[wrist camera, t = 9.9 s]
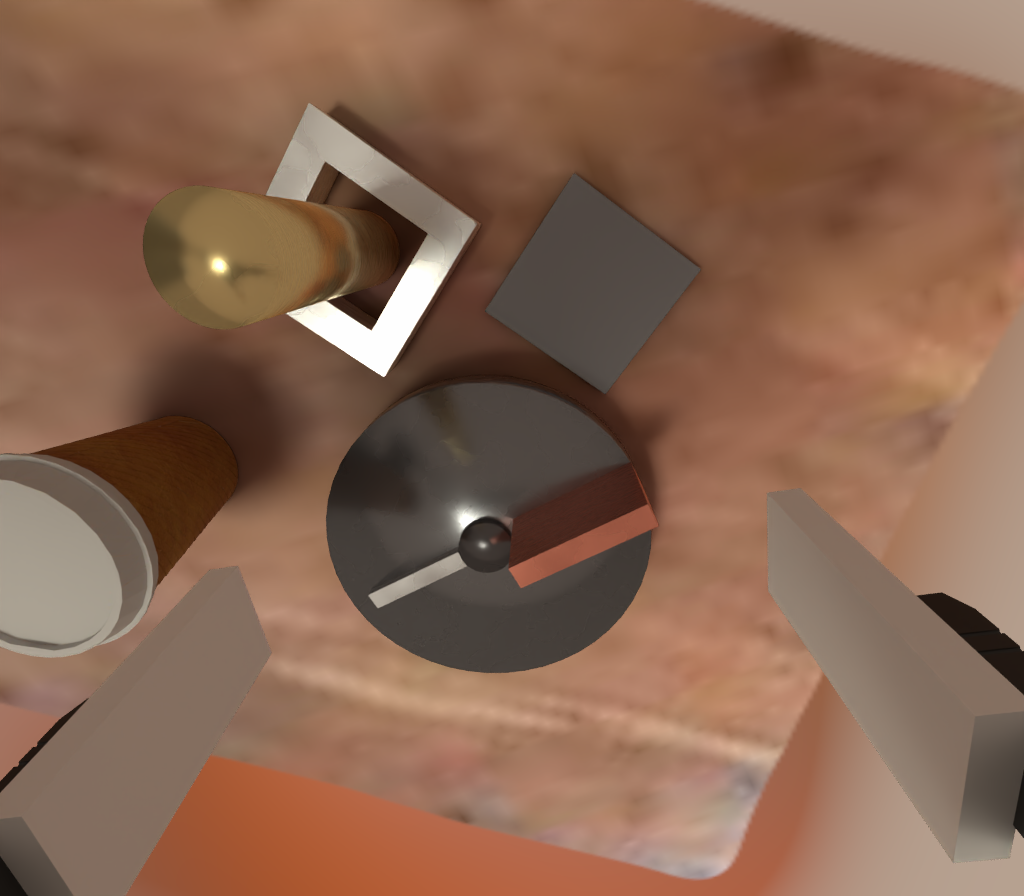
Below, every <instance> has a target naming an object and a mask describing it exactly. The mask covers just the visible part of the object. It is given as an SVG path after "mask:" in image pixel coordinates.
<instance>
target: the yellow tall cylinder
mask: <svg viewBox="0 0 1024 896" xmlns="http://www.w3.org/2000/svg"><path fill="white" fill-rule="evenodd" d="M143 253H144V259H145V264H146V267H147V270H148V273H149V276H150V278H151V280H152V282H153V284H154V286H155V287H156V289H157V291H158V292H159V293H160V295H161V296H162V298H163V299H164V300H165V301H166V302H167V303H168V304H169V305H170V306H171V307H172V308H173V309H174V310H175V311H176V312H178V313H179V314H180V315H182V316H183V317H185V318H186V319H188V320H190V321H192V322H194V323H196V324H199V325H201V326H205V327H208V328H214V329H234V328H238V327H242V326H245V325H248V324H252V323H255V322H258V321H262V320H265V319H268V318H271V317H275V316H278V315H281V314H284V313H288V312H291V311H294V310H298V309H301V308H304V307H307V306H311V305H314V304H317V303H321V302H324V301H327V300H330V299H334V298H337V297H340V296H343V295H347V294H350V293H353V292H357V291H360V290H363V289H366V288H370V287H373V286H376V285H379V284H381V283H383V282H385V281H386V280H387V279H389V278H390V276H391V275H392V274H393V273H394V271H395V269H396V267H397V265H398V262H399V255H400V249H399V242H398V239H397V236H396V234H395V232H394V230H393V228H392V227H391V226H390V224H389V223H388V222H387V221H386V220H385V219H383V218H382V217H381V216H379V215H377V214H375V213H373V212H370V211H365V210H358V209H352V208H345V207H339V206H332V205H326V204H319V203H313V202H306V201H300V200H293V199H287V198H280V197H274V196H267V195H261V194H254V193H248V192H241V191H235V190H228V189H222V188H215V187H209V186H189V187H184V188H180V189H177V190H175V191H173V192H171V193H169V194H168V195H166V196H165V197H164V198H162V199H161V200H160V201H159V202H158V203H157V204H156V206H155V207H154V209H153V210H152V211H151V213H150V215H149V217H148V220H147V223H146V226H145V230H144V235H143Z"/></svg>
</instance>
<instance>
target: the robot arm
mask: <svg viewBox="0 0 1024 896" xmlns="http://www.w3.org/2000/svg"><path fill="white" fill-rule="evenodd" d="M767 530H768V591H769V593H770V594H771V596H772V597H773V599H774V600H775V602H776V603H777V605H778V606H779V608H780V609H781V610H782V612H783V613H784V615H785V616H786V618H787V619H788V621H789V622H790V624H791V625H792V627H793V628H794V630H795V631H796V633H797V634H798V635H799V637H800V638H801V640H802V641H803V643H804V644H805V646H806V647H807V649H808V650H809V652H810V653H811V655H812V656H813V658H814V659H815V660H816V662H817V663H818V665H819V666H820V668H821V669H822V671H823V672H824V674H825V675H826V677H827V678H828V679H829V681H830V683H831V684H832V686H833V687H834V688H835V690H836V691H837V693H838V694H839V696H840V697H841V699H842V700H843V702H844V703H845V705H846V706H847V708H848V709H849V711H850V712H851V713H852V715H853V716H854V718H855V719H856V721H857V722H858V724H859V725H860V727H861V728H862V730H863V731H864V732H865V734H866V735H867V737H868V738H869V740H870V741H871V743H872V744H873V746H874V747H875V749H876V750H877V752H878V753H879V755H880V756H881V757H882V759H883V760H884V762H885V764H886V765H887V766H888V768H889V769H890V771H891V772H892V774H893V775H894V777H895V778H896V779H897V781H898V783H899V784H900V786H901V787H902V788H903V790H904V791H905V793H906V794H907V796H908V797H909V799H910V800H911V802H912V803H913V805H914V806H915V808H916V809H917V811H918V812H919V814H920V815H921V816H922V818H923V819H924V821H925V822H926V824H927V825H928V827H929V828H930V830H931V831H932V833H933V834H934V836H935V837H936V839H937V840H938V841H939V843H940V844H941V846H942V847H943V849H944V850H945V852H946V853H947V855H948V856H949V858H950V859H951V861H952V862H953V863H960V862H971V861H983V860H995V859H1007V858H1010V853H1011V849H1012V844H1013V839H1014V833H1015V829H1017V830H1018V832H1019V833H1020V834H1021V835H1022V837H1023V838H1024V651H1022V650H1021V649H1020V646H1019V645H1018V644H1016V643H1015V642H1014V641H1013V640H1012V639H1011V638H1009V637H1008V636H1007V635H1006V634H1005V633H1002V634H1001V633H1000V631H999V628H997V627H996V626H995V625H994V624H993V623H991V622H990V621H989V620H988V619H987V618H985V617H984V616H983V615H982V614H981V613H979V612H978V611H977V610H976V609H974V608H972V607H970V606H968V605H966V604H964V603H962V602H960V601H958V600H956V599H954V598H952V597H950V596H948V595H946V594H944V593H935V594H926V595H918V596H916V595H915V594H914V593H913V592H912V591H911V590H910V589H909V588H908V587H906V586H905V585H904V584H903V583H902V582H901V581H900V580H899V579H898V578H897V577H896V576H894V575H893V574H892V573H891V572H890V571H889V570H888V569H887V568H886V567H885V566H884V565H883V564H882V563H881V562H880V561H878V560H877V559H876V558H875V557H874V556H873V555H872V554H871V553H870V552H869V551H868V550H867V549H865V548H864V547H863V546H862V545H861V544H860V543H859V542H858V541H857V540H856V539H855V538H854V537H853V536H851V535H850V534H849V533H848V532H847V531H846V530H845V529H844V528H843V527H842V526H841V525H840V524H838V523H837V522H836V521H835V520H834V519H833V518H832V517H831V516H830V515H829V514H828V513H827V512H826V511H824V510H823V509H822V508H821V507H820V506H819V505H818V504H817V503H816V502H815V501H814V500H813V499H812V498H810V497H809V496H808V495H807V494H806V493H805V492H804V491H803V490H802V489H801V488H798V489H791V490H784V491H777V492H769V493H767ZM271 653H272V652H271V650H270V647H269V645H268V642H267V639H266V637H265V634H264V632H263V629H262V627H261V624H260V621H259V619H258V616H257V614H256V611H255V608H254V606H253V603H252V601H251V598H250V596H249V593H248V590H247V588H246V585H245V583H244V580H243V577H242V575H241V572H240V570H239V567H238V566H233V567H226V568H219V569H212V570H209V571H208V572H207V573H206V574H205V575H204V576H203V577H202V578H201V579H200V580H199V581H198V583H197V584H196V585H195V586H194V587H193V588H192V589H191V590H190V591H189V592H188V593H187V594H186V595H185V596H184V597H183V599H182V600H181V601H180V602H179V603H178V604H177V605H176V606H175V607H174V608H173V609H172V610H171V611H170V612H169V613H168V615H167V616H166V617H165V618H164V619H163V620H162V621H161V622H160V623H159V624H158V625H157V626H156V627H155V628H154V629H153V631H152V632H151V633H150V634H149V635H148V636H147V637H146V638H145V639H144V640H143V641H142V642H141V643H140V644H139V645H138V647H137V648H136V649H135V650H134V651H133V652H132V653H131V654H130V655H129V656H128V657H127V658H126V659H125V660H124V661H123V663H122V664H121V665H120V666H119V667H118V668H117V669H116V670H115V671H114V672H113V673H112V674H111V675H110V676H109V677H108V678H107V680H106V681H105V682H104V683H103V684H102V685H101V686H100V687H99V688H98V689H97V690H96V691H95V692H94V693H93V694H92V696H91V697H90V698H88V699H86V700H85V701H84V702H82V703H81V704H80V705H78V706H77V707H76V708H74V709H73V710H72V711H70V712H69V713H67V714H66V715H65V716H63V717H62V718H61V719H59V720H58V722H57V723H56V724H55V725H54V726H53V727H52V728H51V729H50V730H49V731H48V732H47V733H46V734H45V735H44V736H43V737H42V738H41V739H40V740H39V741H38V743H37V744H38V745H37V747H33V748H32V749H31V750H30V751H29V752H28V753H27V754H26V755H25V756H24V757H23V758H22V759H21V760H20V761H19V765H18V767H13V768H12V770H11V771H10V772H9V773H8V774H7V775H6V776H5V777H4V778H3V779H2V780H1V781H0V896H125V895H126V894H127V892H128V890H129V889H130V887H131V885H132V884H133V882H134V880H135V879H136V877H137V875H138V874H139V872H140V870H141V869H142V867H143V865H144V864H145V862H146V861H147V859H148V857H149V855H150V854H151V852H152V851H153V849H154V847H155V846H156V844H157V842H158V841H159V839H160V837H161V835H162V834H163V832H164V831H165V829H166V827H167V826H168V824H169V822H170V821H171V819H172V817H173V815H174V814H175V812H176V811H177V809H178V808H179V806H180V804H181V803H182V801H183V799H184V798H185V796H186V794H187V793H188V791H189V789H190V787H191V786H192V784H193V783H194V781H195V779H196V778H197V776H198V774H199V772H200V771H201V769H202V768H203V766H204V764H205V763H206V761H207V759H208V758H209V756H210V754H211V753H212V751H213V750H214V748H215V746H216V745H217V743H218V741H219V740H220V738H221V736H222V735H223V733H224V731H225V730H226V728H227V726H228V725H229V723H230V721H231V720H232V718H233V716H234V715H235V713H236V711H237V710H238V708H239V706H240V705H241V703H242V701H243V700H244V698H245V697H246V695H247V693H248V692H249V690H250V688H251V687H252V685H253V683H254V682H255V680H256V678H257V677H258V675H259V673H260V672H261V670H262V668H263V667H264V665H265V663H266V662H267V660H268V658H269V657H270V655H271Z"/></svg>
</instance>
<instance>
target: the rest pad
mask: <svg viewBox="0 0 1024 896" xmlns="http://www.w3.org/2000/svg"><path fill="white" fill-rule="evenodd" d="M700 270H701V269H700V268H699V267H697V266H696V265H695V264H693V263H692V262H691V261H689V260H688V259H687V258H685V257H684V256H683V255H682V254H680V253H679V252H678V251H676V250H675V249H674V248H672V247H671V246H670V245H668V244H667V243H666V242H664V241H663V240H662V239H660V238H659V237H658V236H656V235H655V234H654V233H652V232H651V231H650V230H649V229H647V228H646V227H645V226H643V225H642V224H641V223H639V222H638V221H637V220H635V219H634V218H633V217H631V216H630V215H629V214H627V213H626V212H625V211H623V210H622V209H621V208H620V207H618V206H617V205H616V204H614V203H613V202H612V201H610V200H609V199H608V198H606V197H605V196H604V195H602V194H601V193H600V192H598V191H597V190H596V189H594V188H593V187H592V186H590V185H589V184H588V183H587V182H585V181H584V180H583V179H581V178H580V177H579V176H577V175H576V174H575V173H574V174H573V175H572V177H571V178H570V180H569V181H568V183H567V185H566V186H565V188H564V189H563V191H562V192H561V194H560V195H559V197H558V198H557V200H556V202H555V203H554V205H553V206H552V208H551V209H550V211H549V212H548V214H547V216H546V217H545V219H544V220H543V222H542V223H541V225H540V226H539V228H538V229H537V231H536V233H535V234H534V236H533V237H532V239H531V240H530V242H529V243H528V245H527V247H526V248H525V250H524V251H523V253H522V254H521V256H520V257H519V259H518V260H517V262H516V264H515V265H514V267H513V268H512V270H511V271H510V273H509V274H508V276H507V277H506V279H505V281H504V282H503V284H502V285H501V287H500V288H499V290H498V291H497V293H496V295H495V296H494V298H493V299H492V301H491V302H490V304H489V305H488V307H487V308H486V310H485V312H487V313H488V314H490V315H491V316H493V317H494V318H496V319H497V320H498V321H500V322H501V323H503V324H504V325H506V326H507V327H509V328H510V329H512V330H513V331H514V332H516V333H517V334H519V335H520V336H522V337H523V338H525V339H526V340H527V341H529V342H530V343H532V344H533V345H535V346H536V347H538V348H539V349H540V350H542V351H543V352H545V353H546V354H548V355H549V356H551V357H552V358H554V359H555V360H556V361H558V362H559V363H561V364H562V365H564V366H565V367H567V368H568V369H569V370H571V371H572V372H574V373H575V374H577V375H578V376H580V377H581V378H583V379H584V380H585V381H587V382H588V383H590V384H591V385H593V386H594V387H596V388H597V389H598V390H600V391H601V392H603V393H604V394H606V393H607V392H608V390H609V389H610V388H611V386H612V385H613V384H614V382H615V381H616V380H617V379H618V377H619V376H620V375H621V373H622V372H623V371H624V369H625V368H626V367H627V365H628V364H629V363H630V361H631V360H632V359H633V358H634V356H635V355H636V354H637V352H638V351H639V350H640V348H641V347H642V346H643V344H644V343H645V342H646V341H647V339H648V338H649V337H650V335H651V334H652V333H653V331H654V330H655V329H656V327H657V326H658V325H659V324H660V322H661V321H662V320H663V318H664V317H665V316H666V314H667V313H668V312H669V310H670V309H671V308H672V307H673V305H674V304H675V303H676V301H677V300H678V299H679V297H680V296H681V295H682V293H683V292H684V291H685V290H686V288H687V287H688V286H689V284H690V283H691V282H692V280H693V279H694V278H695V276H696V275H697V274H698V273H699V271H700Z"/></svg>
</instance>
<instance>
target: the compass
mask: <svg viewBox="0 0 1024 896" xmlns="http://www.w3.org/2000/svg"><path fill="white" fill-rule="evenodd" d="M658 526H659V524H658V522H657V519H656V517H655V515H654V512H653V510H652V507H651V505H650V503H649V500H648V498H647V495H646V493H645V491H644V488H643V486H642V483H641V481H640V479H639V477H638V475H637V473H636V471H635V468H634V466H633V464H632V461H631V459H630V457H629V455H628V454H627V452H626V451H625V449H624V447H623V446H622V444H621V443H620V441H619V440H618V439H617V437H616V436H615V435H614V434H613V433H612V431H611V430H610V429H609V428H608V427H607V425H606V424H605V423H603V422H602V421H601V420H600V419H599V418H598V417H597V416H596V415H595V414H594V413H592V412H591V411H590V410H589V409H587V408H586V407H584V406H583V405H581V404H580V403H578V402H577V401H576V400H574V399H572V398H571V397H569V396H567V395H565V394H563V393H561V392H559V391H557V390H555V389H553V388H550V387H547V386H544V385H541V384H539V383H536V382H533V381H528V380H524V379H519V378H514V377H507V376H495V375H478V376H465V377H459V378H453V379H447V380H444V381H441V382H437V383H434V384H431V385H428V386H425V387H423V388H421V389H419V390H417V391H415V392H412V393H410V394H408V395H406V396H405V397H403V398H402V399H400V400H399V401H397V402H396V403H394V404H393V405H391V406H390V407H389V408H387V409H386V410H385V411H384V412H383V413H382V414H381V415H379V416H378V417H377V418H376V419H375V420H374V421H373V422H372V423H371V424H370V425H369V426H368V428H367V429H366V430H365V431H364V432H363V433H362V434H361V436H360V437H359V438H358V439H357V440H356V441H355V443H354V444H353V445H352V446H351V448H350V449H349V451H348V452H347V454H346V456H345V457H344V459H343V460H342V462H341V464H340V466H339V469H338V471H337V473H336V475H335V478H334V480H333V483H332V487H331V491H330V495H329V499H328V506H327V515H326V527H327V540H328V546H329V551H330V556H331V559H332V562H333V565H334V568H335V571H336V574H337V576H338V578H339V580H340V582H341V584H342V586H343V588H344V590H345V592H346V593H347V595H348V596H349V598H350V599H351V601H352V602H353V604H354V605H355V606H356V608H357V609H358V610H359V611H360V612H361V613H362V615H363V616H364V617H365V618H366V619H367V620H368V621H369V622H370V623H371V624H372V625H373V626H374V627H375V628H376V629H377V630H378V631H380V632H381V633H382V634H383V635H385V636H386V637H387V638H389V639H390V640H392V641H393V642H394V643H396V644H397V645H399V646H401V647H402V648H404V649H406V650H408V651H409V652H411V653H413V654H415V655H417V656H420V657H422V658H424V659H427V660H429V661H431V662H435V663H438V664H441V665H444V666H447V667H451V668H456V669H461V670H466V671H474V672H484V673H508V672H516V671H525V670H530V669H534V668H538V667H543V666H546V665H549V664H552V663H555V662H558V661H560V660H563V659H565V658H567V657H569V656H571V655H573V654H575V653H577V652H579V651H581V650H583V649H584V648H586V647H587V646H589V645H590V644H592V643H593V642H595V641H596V640H597V639H599V638H600V637H601V636H602V635H603V634H605V633H606V632H607V631H608V630H609V629H610V628H611V627H612V626H613V625H614V624H615V623H616V622H617V621H618V620H619V619H620V618H621V616H622V615H623V614H624V612H625V611H626V610H627V608H628V607H629V605H630V604H631V602H632V601H633V599H634V597H635V595H636V593H637V591H638V589H639V587H640V586H641V583H642V580H643V577H644V574H645V572H646V569H647V565H648V560H649V554H650V549H651V529H653V528H656V527H658Z"/></svg>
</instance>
